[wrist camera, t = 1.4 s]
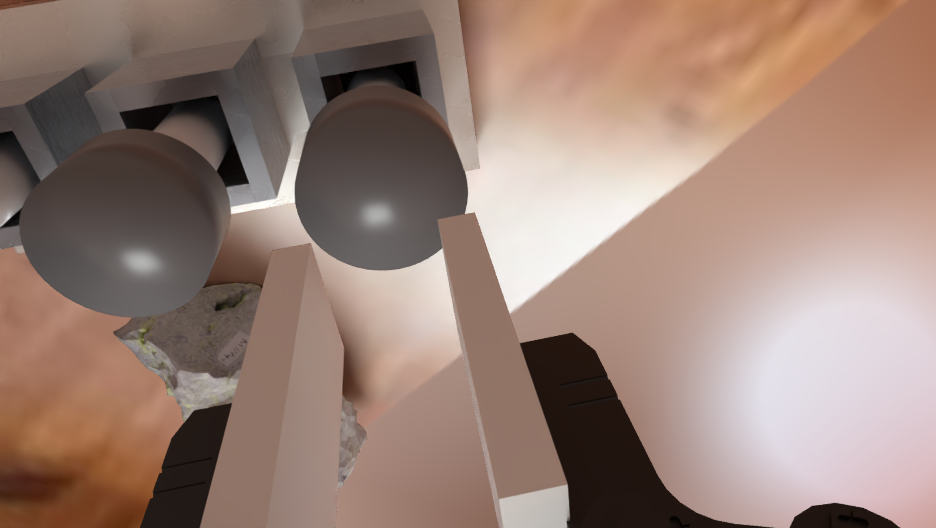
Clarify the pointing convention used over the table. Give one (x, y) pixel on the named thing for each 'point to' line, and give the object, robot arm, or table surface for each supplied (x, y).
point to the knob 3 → (379, 175)
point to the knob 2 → (134, 214)
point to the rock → (215, 355)
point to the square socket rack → (216, 75)
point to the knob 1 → (14, 176)
